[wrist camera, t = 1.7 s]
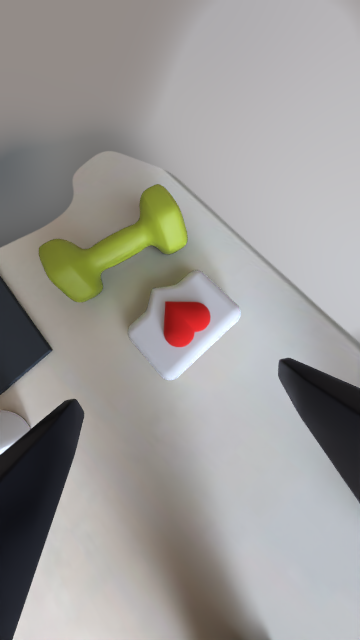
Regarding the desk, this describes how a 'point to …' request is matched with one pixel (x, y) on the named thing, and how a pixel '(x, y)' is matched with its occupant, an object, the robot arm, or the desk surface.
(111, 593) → the desk surface
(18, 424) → the eye dropper bottle
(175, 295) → the icon
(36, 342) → the mat
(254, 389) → the desk surface
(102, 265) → the dumbbell
